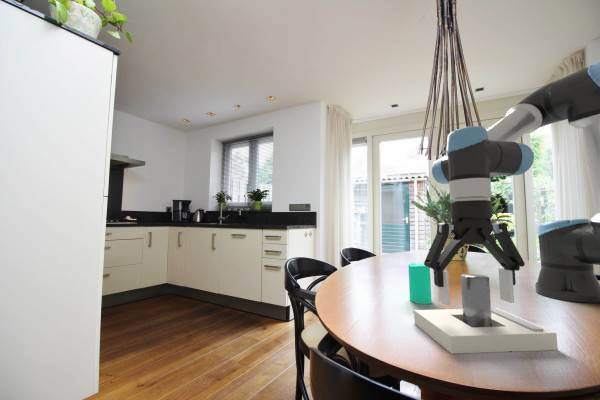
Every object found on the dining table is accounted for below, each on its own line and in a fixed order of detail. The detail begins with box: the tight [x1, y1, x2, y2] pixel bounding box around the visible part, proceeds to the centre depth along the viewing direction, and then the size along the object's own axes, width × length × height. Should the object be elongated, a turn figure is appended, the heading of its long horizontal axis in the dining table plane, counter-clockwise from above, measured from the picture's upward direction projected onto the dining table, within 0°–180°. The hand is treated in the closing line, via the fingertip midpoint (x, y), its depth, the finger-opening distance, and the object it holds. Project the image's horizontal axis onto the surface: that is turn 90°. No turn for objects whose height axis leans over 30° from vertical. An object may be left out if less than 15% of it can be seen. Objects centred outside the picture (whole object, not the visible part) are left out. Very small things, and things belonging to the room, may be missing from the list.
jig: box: [413, 307, 559, 354], centre depth 56 cm, size 20×14×3 cm
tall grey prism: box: [460, 273, 492, 327], centre depth 56 cm, size 5×5×12 cm
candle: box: [408, 262, 433, 304], centre depth 80 cm, size 6×6×12 cm
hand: (475, 301), depth 56 cm, fingers open, 13 cm apart
